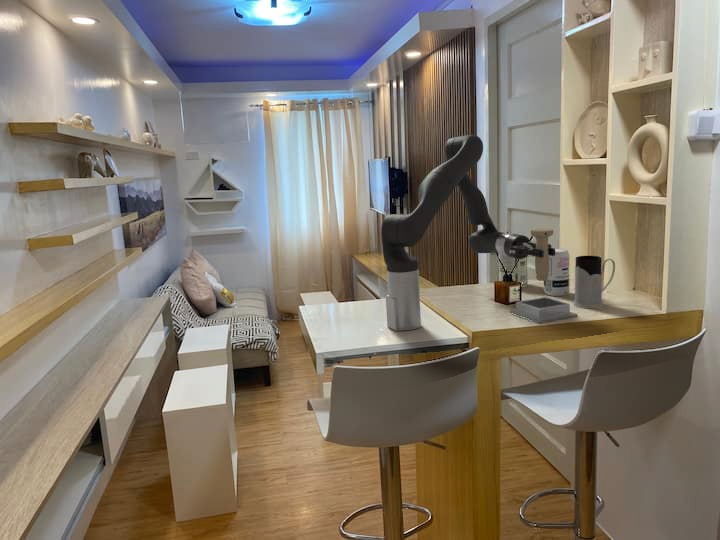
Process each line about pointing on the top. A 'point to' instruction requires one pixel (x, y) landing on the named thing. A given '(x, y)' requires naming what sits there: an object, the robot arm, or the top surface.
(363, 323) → the top surface
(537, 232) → the handle
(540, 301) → the collar
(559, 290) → the supplement can
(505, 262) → the lidded glass jar
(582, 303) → the grey mug
